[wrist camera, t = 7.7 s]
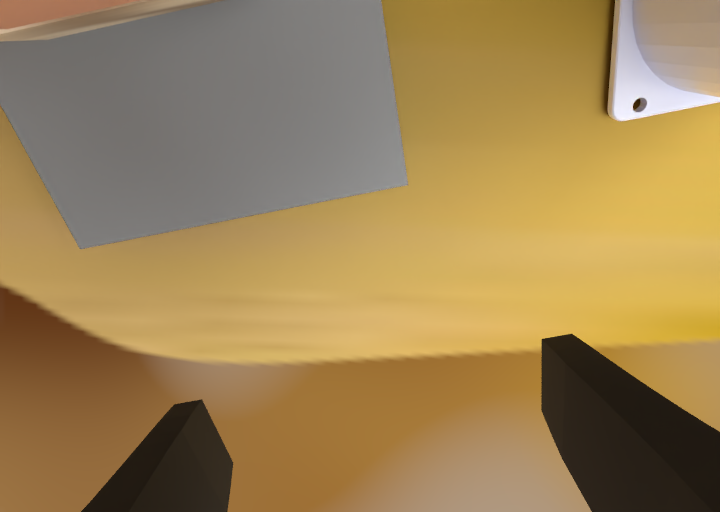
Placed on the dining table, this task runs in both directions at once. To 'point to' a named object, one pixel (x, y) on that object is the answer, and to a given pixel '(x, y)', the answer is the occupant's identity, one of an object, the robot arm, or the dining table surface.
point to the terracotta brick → (47, 10)
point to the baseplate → (207, 114)
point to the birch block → (97, 19)
